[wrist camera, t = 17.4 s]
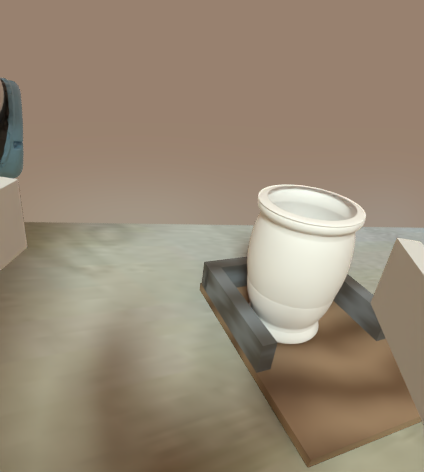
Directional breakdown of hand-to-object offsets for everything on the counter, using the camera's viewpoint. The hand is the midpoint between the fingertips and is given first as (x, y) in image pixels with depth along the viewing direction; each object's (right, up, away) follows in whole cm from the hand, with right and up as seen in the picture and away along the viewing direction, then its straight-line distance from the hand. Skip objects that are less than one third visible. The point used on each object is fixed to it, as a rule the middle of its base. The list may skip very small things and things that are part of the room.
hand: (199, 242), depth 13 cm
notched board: (+11, -12, +29) cm, 33 cm away
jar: (+9, -10, +30) cm, 33 cm away
